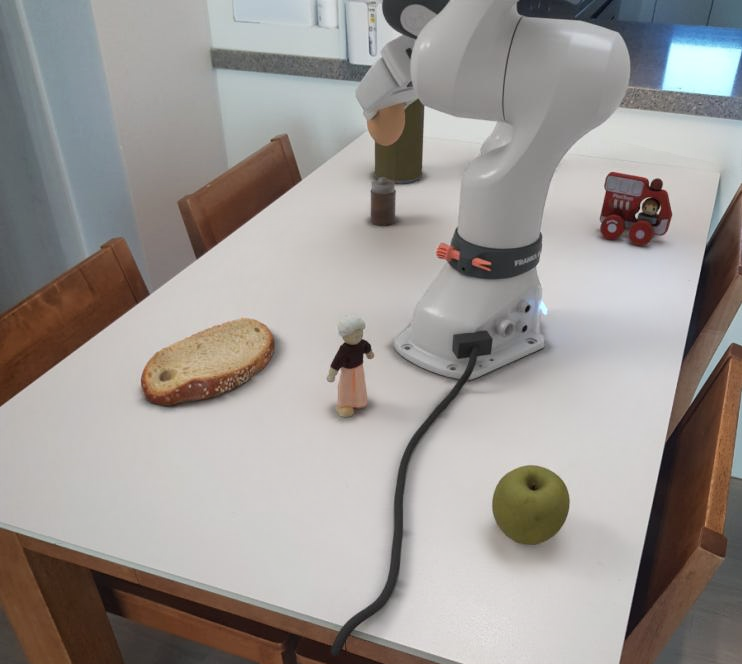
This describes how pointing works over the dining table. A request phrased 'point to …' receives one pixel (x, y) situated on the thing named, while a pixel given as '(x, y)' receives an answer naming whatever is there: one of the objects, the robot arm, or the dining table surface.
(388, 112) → the egg
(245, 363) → the slice of bread
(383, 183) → the pepper shaker
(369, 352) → the grandmother figurine
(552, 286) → the dining table surface
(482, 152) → the flower vase
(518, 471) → the apple
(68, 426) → the dining table surface
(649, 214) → the toy fire truck
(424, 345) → the robot arm
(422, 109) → the canister
